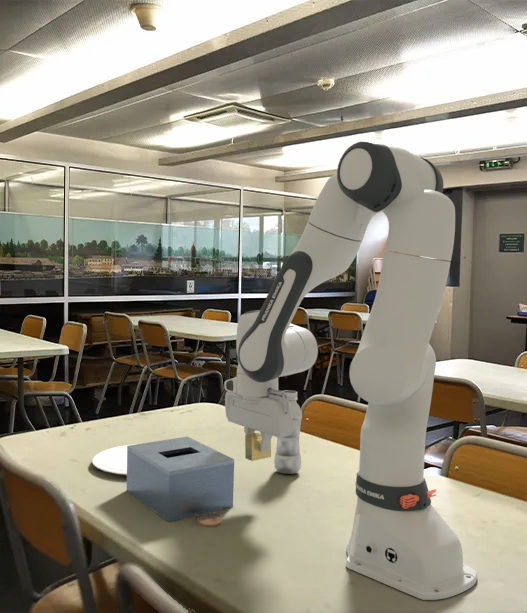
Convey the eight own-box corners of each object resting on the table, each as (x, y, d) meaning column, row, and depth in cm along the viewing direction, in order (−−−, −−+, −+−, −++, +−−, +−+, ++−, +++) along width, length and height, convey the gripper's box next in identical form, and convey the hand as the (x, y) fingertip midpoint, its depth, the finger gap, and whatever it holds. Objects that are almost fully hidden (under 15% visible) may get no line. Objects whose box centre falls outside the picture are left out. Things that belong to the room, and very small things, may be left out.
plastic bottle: (299, 478, 148) (301, 395, 147) (271, 475, 149) (273, 393, 148) (302, 469, 154) (305, 390, 153) (276, 467, 156) (278, 388, 154)
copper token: (227, 524, 121) (227, 518, 121) (205, 530, 118) (205, 524, 118) (213, 515, 125) (214, 510, 125) (192, 521, 122) (192, 515, 122)
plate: (122, 490, 138) (123, 481, 138) (74, 461, 157) (74, 454, 156) (213, 468, 154) (213, 460, 154) (159, 445, 173) (159, 438, 173)
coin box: (233, 506, 129) (234, 459, 129) (168, 521, 121) (169, 471, 120) (186, 478, 146) (187, 436, 145) (126, 490, 137) (127, 445, 136)
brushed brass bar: (271, 456, 133) (270, 433, 133) (251, 460, 130) (251, 437, 130) (264, 454, 135) (264, 431, 135) (245, 458, 132) (245, 435, 132)
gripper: (300, 390, 125) (300, 458, 126) (243, 378, 142) (244, 438, 142) (275, 394, 122) (275, 463, 122) (219, 381, 138) (220, 442, 139)
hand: (258, 449), depth 132 cm, fingers closed on brushed brass bar, 2 cm apart
